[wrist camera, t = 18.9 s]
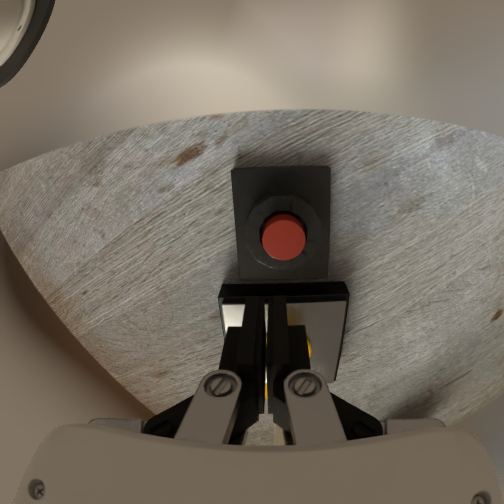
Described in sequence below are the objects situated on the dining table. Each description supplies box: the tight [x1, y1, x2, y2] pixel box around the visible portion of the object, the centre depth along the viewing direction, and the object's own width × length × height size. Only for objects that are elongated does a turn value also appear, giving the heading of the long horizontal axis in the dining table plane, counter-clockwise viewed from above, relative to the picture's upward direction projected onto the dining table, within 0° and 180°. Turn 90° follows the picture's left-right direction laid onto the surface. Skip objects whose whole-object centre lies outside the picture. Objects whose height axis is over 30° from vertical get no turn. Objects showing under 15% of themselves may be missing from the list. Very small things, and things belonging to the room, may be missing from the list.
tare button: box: [262, 214, 306, 260], centre depth 22 cm, size 3×3×2 cm
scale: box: [218, 281, 350, 384], centre depth 28 cm, size 12×12×3 cm
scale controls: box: [231, 166, 330, 280], centre depth 24 cm, size 10×8×3 cm
